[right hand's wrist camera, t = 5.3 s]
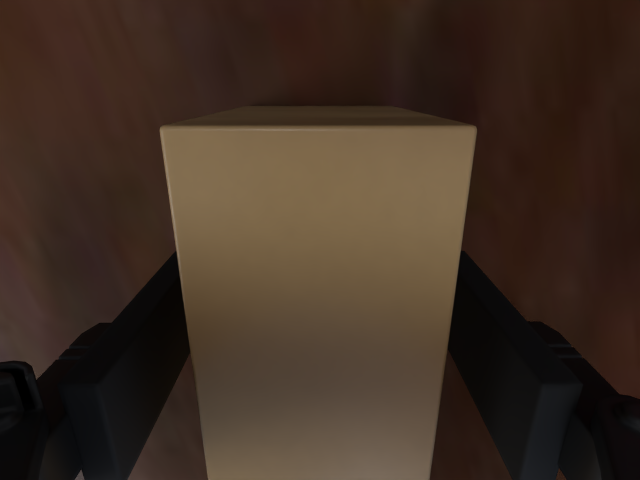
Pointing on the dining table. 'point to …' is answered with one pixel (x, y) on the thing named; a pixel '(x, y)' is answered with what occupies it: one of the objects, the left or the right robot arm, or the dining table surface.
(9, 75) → the dining table surface
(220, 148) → the post
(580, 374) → the right robot arm
